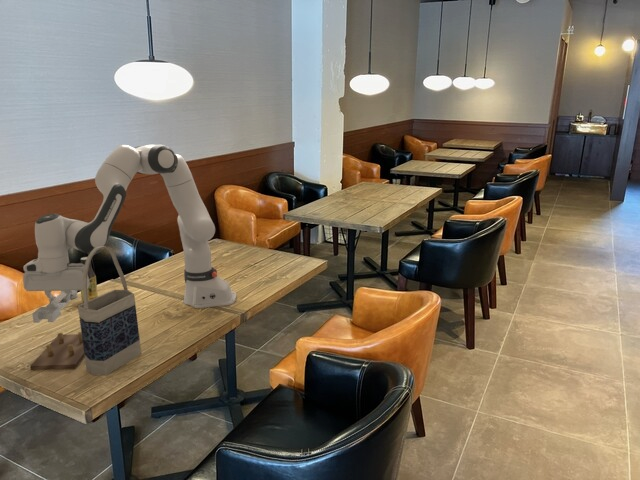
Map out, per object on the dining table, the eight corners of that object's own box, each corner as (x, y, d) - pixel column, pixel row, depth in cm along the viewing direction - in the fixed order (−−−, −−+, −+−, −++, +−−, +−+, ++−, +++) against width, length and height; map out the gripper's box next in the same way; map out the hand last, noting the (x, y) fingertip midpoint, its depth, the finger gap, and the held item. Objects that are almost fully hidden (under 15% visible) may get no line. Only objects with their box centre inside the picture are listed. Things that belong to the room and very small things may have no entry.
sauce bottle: (92, 306, 211) (86, 261, 205) (79, 305, 212) (73, 260, 207) (101, 300, 217) (96, 256, 212) (88, 299, 218) (83, 255, 213)
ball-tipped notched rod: (64, 295, 181) (63, 287, 180) (81, 294, 181) (80, 286, 181) (33, 322, 159) (32, 313, 158) (53, 322, 159) (52, 313, 158)
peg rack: (98, 337, 184) (97, 324, 183) (76, 368, 163) (74, 354, 162) (58, 338, 183) (57, 326, 182) (30, 370, 162) (28, 356, 160)
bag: (102, 378, 158) (86, 256, 147) (82, 371, 161) (65, 252, 150) (144, 352, 174) (133, 240, 163) (125, 347, 177) (113, 237, 166)
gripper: (90, 260, 171) (94, 298, 174) (27, 260, 169) (33, 299, 173) (83, 266, 165) (87, 305, 168) (17, 266, 163) (24, 306, 167)
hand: (59, 302), depth 171 cm, fingers closed on ball-tipped notched rod, 3 cm apart
